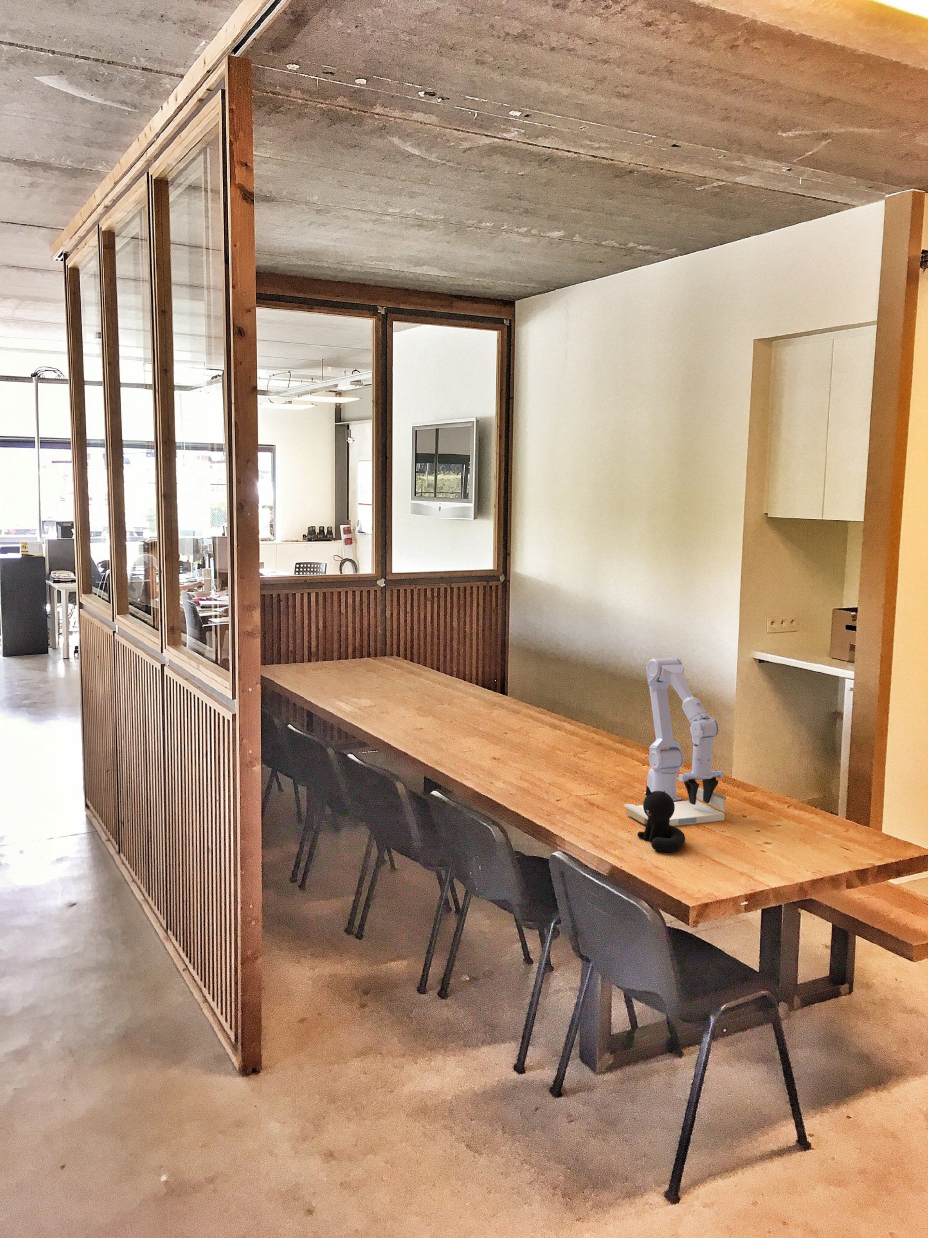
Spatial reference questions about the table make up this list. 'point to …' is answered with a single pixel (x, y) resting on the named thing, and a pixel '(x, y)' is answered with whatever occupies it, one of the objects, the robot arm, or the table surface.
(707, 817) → the carton
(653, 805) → the figurine
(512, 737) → the table surface
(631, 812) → the near flap
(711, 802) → the far flap
